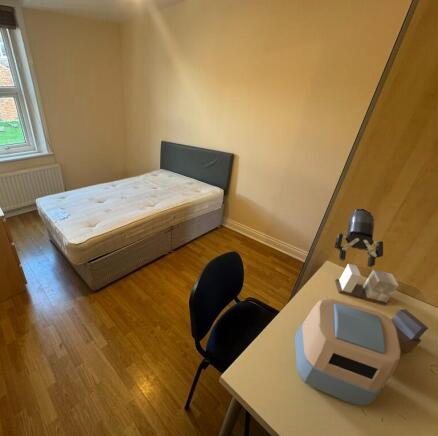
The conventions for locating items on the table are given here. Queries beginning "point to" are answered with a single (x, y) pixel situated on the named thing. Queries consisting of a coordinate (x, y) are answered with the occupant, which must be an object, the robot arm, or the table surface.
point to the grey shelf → (406, 342)
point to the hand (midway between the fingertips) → (356, 263)
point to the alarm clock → (346, 350)
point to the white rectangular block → (349, 278)
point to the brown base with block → (373, 288)
